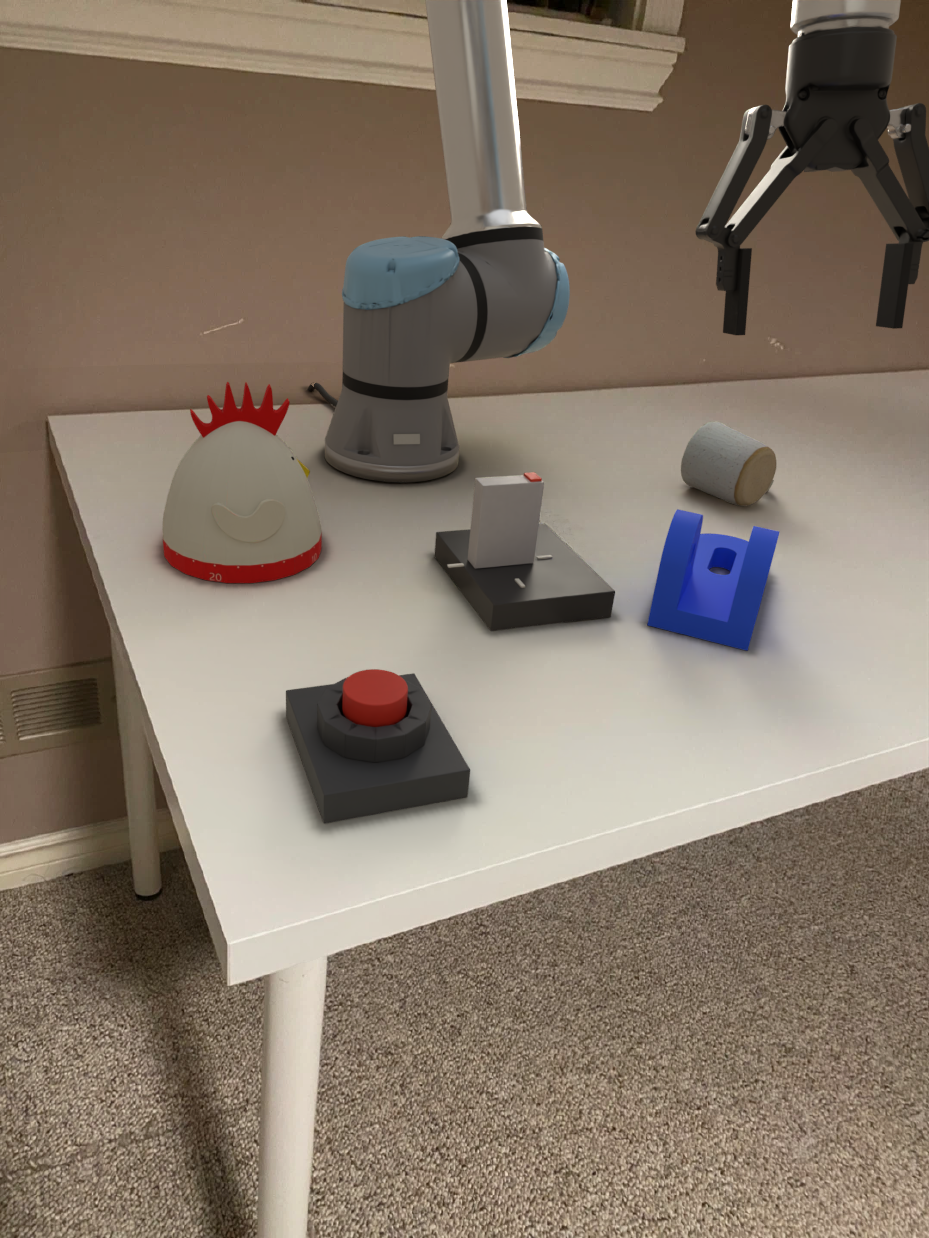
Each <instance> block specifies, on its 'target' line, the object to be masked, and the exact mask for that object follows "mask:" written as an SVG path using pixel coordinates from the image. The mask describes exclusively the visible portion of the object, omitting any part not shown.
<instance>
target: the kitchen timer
mask: <svg viewBox="0 0 929 1238" xmlns="http://www.w3.org/2000/svg"><path fill="white" fill-rule="evenodd" d="M248 384H249V383H248V382H247V381H245V382H244V386H243V387H244V388H243V396H242V402H241V406H240V407H237V405H236V402H235V397H234V394H233V390H232V387H231V384H230V382H229V381H227V382H226V383H225V389H224V400H223V407H222V409H221V408H220V407H219V406H218V405H217V403H216V402H215V401H214V399H213V398H212V397H211V395H209V394H207V395H206V401H207V405H208V408H209V412H210V413H211V421H210V422H204V421H202V419H200V417H199V416H198V415H197V413H196V412H195V411H194V410H193V409H192V408H190V409H189V412H190V417H191V419H192V422H193V424H194V426H195V427H196V430H197V431H198V433H199V434H200V435H199V436H198V437H197V438H196V440H195V441H194V442H193V443H192V444H191V445H190V447H189V448H188V450H187V451H186V452H185V453H184V455H183V457H182V458H181V460H180V461H179V463H178V464H177V467H176V469H175V471H174V474H173V476H172V479H171V482H170V486H169V489H168V493H167V497H166V501H165V505H164V510H163V516H162V527H161V530H162V546H163V556H164V558H165V560H166V561H167V562H168V563H169V565H170V566H171V567H173V568H174V569H176V570H177V571H179V572H181V573H183V574H185V575H187V576H189V577H190V576H191V577H194V578H197V579H200V580H204V581H210V582H217V583H225V584H254V583H265V582H271V581H276V580H281V579H284V578H286V577H291V576H294V575H297V574H299V573H301V572H302V571H305V570H306V569H308V568H311V566H312V565H313V564H314V563H315V562H316V561H317V560H318V559H320V556H321V552H322V548H323V547H322V543H323V541H322V539H323V538H322V537H323V536H322V535H323V534H322V533H323V532H322V524H321V523H322V522H321V517H320V513H319V510H318V506H317V503H316V500H315V497H314V494H313V491H312V488H311V485H310V482H309V480H308V478H309V477H310V473H311V471H310V469H309V468H308V467H307V466H306V465H304V463H302V462H301V461H300V460H299V459H298V458H297V456H296V455H295V453H294V452H293V451H292V449H291V447H290V446H288V444H287V443H286V442H285V441H284V440H283V439H282V438H281V437H280V436H278V435H277V433H278V432H279V429H280V427H281V425H282V423H283V422H284V419H285V418H286V415H287V413H288V410H289V407H290V404H291V403H290V400H289V398H286V399H285V400H284V401H283V402H282V404H281V405H280V407H279V408H277V409H274V397H273V389H272V386H271V384H270V383H268V384H267V386H266V389H265V390H264V391H265V392H264V395H263V398H262V400H261V404H260V406H259V407H258V408H257V407H255V405H254V401H253V397H252V393H251V390H250V387H249V385H248Z"/></svg>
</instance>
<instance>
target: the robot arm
mask: <svg viewBox="0 0 929 1238" xmlns="http://www.w3.org/2000/svg"><path fill="white" fill-rule="evenodd" d="M424 2H425V3H424V4H425V11H426V18H427V19H426V20H427V27H428V35H429V47H430V53H431V62H432V70H433V72H432V73H433V79H434V80H433V81H434V88H435V95H436V104H437V105H436V106H437V114H438V123H439V131H440V140H441V148H442V156H443V163H444V164H443V165H444V173H445V181H446V182H445V183H446V190H447V199H448V207H449V217H450V223H449V226H448V228H447V229H446V230H445V232H444V233H443V235H442V236H441V237H434V236H423V235H418V236H411V237H410V236H409V237H408V236H392V237H385V238H378V239H374V240H371V241H367V242H365V243H362V244H360V245H358V246H356V247H355V248H354V249H353V250H352V251H351V253H350V254H349V255H348V257H347V259H346V261H345V266H344V267H345V268H344V276H343V277H344V278H343V287H342V289H341V297H342V301H343V309H342V311H343V312H342V313H343V314H342V317H343V319H342V377H341V378H342V379H341V392H340V394H339V396H338V399H337V398H335V397H333V396H332V395H330V393H328V392H327V390H326V389H325V388H324V387H323V385H321V384H320V383H318V382H316V383H315V384H314V387H313V386H312V385H311V384H312V383H310V384H309V385H308V388H307V390H306V391H308V392H314V391H315V390H316V391H317V392H318V393H319V394H320V396H321V397H322V398H323V399H324V400H325V401H326V402H328V403H329V404H331V405H332V406H333V407H335V408H334V411H333V414H332V417H331V420H330V423H329V426H328V429H327V432H326V435H325V437H324V458H325V461H326V462H327V464H329V465H330V466H331V467H333V468H334V469H335V470H338V471H339V472H342V473H344V474H346V475H349V476H353V477H357V478H360V479H364V480H369V481H374V482H375V481H376V482H385V483H419V482H426V481H431V480H436V479H440V478H443V477H445V476H447V475H449V474H451V473H452V472H454V471H455V470H456V469H457V468H458V465H459V459H460V443H459V439H458V436H457V430H456V427H455V423H454V419H453V414H452V411H451V407H450V402H449V396H448V393H449V392H448V391H449V376H450V366H451V364H456V363H466V362H475V361H483V360H484V361H485V360H494V359H511V358H518V357H521V356H522V355H527V354H533V353H536V352H539V351H542V349H544V348H545V347H547V346H548V345H549V344H550V343H551V342H553V341H554V340H555V338H556V336H557V334H558V331H559V330H560V329H561V328H562V327H563V325H564V322H565V320H566V318H567V315H568V310H569V305H570V296H571V287H570V279H569V275H568V270H567V268H566V266H565V264H564V263H563V262H560V260H561V259H560V257H559V255H557V254H556V253H555V252H553V251H551V250H550V249H548V248H546V247H545V241H544V233H543V231H544V229H543V226H542V225H541V224H540V223H539V222H538V221H537V220H536V219H535V218H533V217H532V216H531V215H530V214H529V212H528V209H527V199H526V197H527V196H526V188H525V177H524V168H523V156H522V146H521V138H520V137H521V136H520V125H519V116H518V115H519V114H518V106H517V97H516V95H517V94H516V85H515V76H514V75H515V73H514V64H513V63H514V62H513V54H512V44H511V35H510V24H509V23H510V22H509V13H508V4H507V0H424ZM901 2H902V0H792V6H791V7H792V8H791V20H790V31H791V32H792V33H794V35H797V37H796V38H794V39H793V40H792V41H791V43H790V44H789V46H788V53H787V64H786V65H787V67H786V76H785V77H786V78H785V89H784V90H785V103H784V106H783V108H782V110H778V109H773V108H772V107H771V106H770V105H768V104H761V105H758V106H755V107H752V108H749V109H747V110H746V111H745V112H744V114H743V118H742V121H741V128H740V135H739V141H738V143H737V144H736V147H735V149H734V151H733V153H732V155H731V157H730V159H729V161H728V163H727V165H726V167H725V169H724V171H723V173H722V175H721V177H720V179H719V181H718V183H717V186H716V187H715V189H714V191H713V193H712V195H711V197H710V200H709V201H708V204H707V205H706V207H705V210H704V212H703V214H702V216H701V218H700V220H699V222H698V224H697V225H696V228H695V236H696V238H697V239H699V240H701V241H706V242H708V243H711V244H713V246H714V247H715V248H716V250H717V264H716V277H715V286H716V289H717V291H719V292H725V294H724V295H725V296H724V310H723V323H722V324H723V325H722V333H723V334H727V335H732V336H746V330H747V316H748V304H749V291H750V279H751V278H750V277H751V268H752V267H751V265H752V253H753V248H752V247H741V246H742V244H743V243H744V242H745V241H746V239H747V238H748V237H749V236H750V234H751V233H752V232H753V230H754V229H755V228H756V227H757V226H758V225H759V223H760V222H761V221H762V219H763V218H764V217H765V216H766V214H767V213H768V212H769V211H770V209H771V208H772V207H773V206H774V204H775V203H776V202H777V201H778V199H780V197H781V196H782V195H783V193H784V192H785V190H786V189H788V187H789V186H790V184H791V183H792V182H793V181H794V180H795V179H796V178H797V177H799V175H801V174H802V173H815V172H821V171H829V172H847V171H851V173H852V174H853V175H854V176H855V177H857V178H858V179H859V180H860V181H861V183H862V185H863V186H864V188H865V189H866V191H867V193H868V195H869V197H871V199H872V201H873V203H874V204H875V206H876V208H877V209H878V211H879V213H880V214H881V216H882V218H883V219H884V220H885V222H886V224H887V226H888V227H889V229H890V230H891V232H892V233H893V236H894V237H895V238H896V240H897V241H898V243H894V242H893V243H885V249H884V258H883V265H882V266H883V267H882V272H881V273H882V274H881V281H880V289H879V296H878V304H877V305H878V306H877V312H876V322H875V327H877V328H886V329H893V330H894V329H903V326H904V318H905V311H906V304H907V296H908V290H909V285H915V283H916V282H917V279H918V277H919V269H920V261H921V254H922V248H923V245H924V243H928V242H929V143H928V140H927V136H926V128H927V107H926V105H925V104H924V103H922V102H917V103H914V104H909V105H905V106H902V107H898V108H895V109H890V108H889V105H888V99H887V97H888V92H889V89H890V86H891V83H892V81H893V73H894V63H895V55H896V47H897V38H898V36H897V34H895V31H894V29H893V30H892V29H890V27H891V26H892V25H894V24H895V22H897V21H898V20H899V19H900V18H899V17H900V8H901ZM777 129H778V131H779V134H780V135H781V138H782V139H783V141H784V143H785V145H786V146H785V147H784V149H782V151H781V152H780V153H779V155H778V156H777V157H776V158H775V160H774V161H773V162H772V164H771V166H770V168H769V170H768V171H767V173H766V174H765V175H764V176H763V178H762V179H761V181H759V183H758V184H757V185H756V186H755V188H754V189H753V191H752V192H751V193H750V194H749V195H748V196H747V198H746V199H745V200H744V202H743V203H742V204H741V205H740V207H739V208H738V209H737V210H736V211H735V213H734V214H733V211H734V209H735V208H736V205H737V203H738V201H739V199H740V198H741V195H742V193H743V191H744V189H745V187H746V186H747V183H748V182H749V180H750V178H751V175H752V173H753V172H754V169H755V167H756V165H757V164H758V161H759V160H760V158H761V156H762V153H764V152H763V151H764V149H765V147H766V145H767V142H768V140H771V139H772V138H773V137H774V136H775V133H776V131H777ZM886 130H887V135H888V136H889V137H890V138H891V139H892V141H893V148H894V152H895V156H896V159H897V163H898V166H899V170H900V173H901V176H902V179H903V184H904V187H905V189H904V188H903V187H902V185H901V183H900V182H899V180H898V178H897V175H896V174H895V173H894V171H893V170H892V168H891V166H890V158H889V156H888V154H887V153H886V151H885V150H884V148H883V146H882V144H881V142H880V141H879V139H880V138H881V137H882V136H883V134H884V132H885V131H886ZM905 190H906V192H905ZM732 214H733V215H732Z"/></svg>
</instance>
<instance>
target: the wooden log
mask: <svg viewBox="0 0 929 1238" xmlns="http://www.w3.org/2000/svg"><path fill="white" fill-rule="evenodd" d="M680 464H681V465H680V475H681V476H680V477H681V478H682V481H683V482H684V483H685V484H686V485H688V486H689V487H691V488H694V489H696V490H698V491H701V492H703V493H705V494H707V495H709V496H713V497H715V498H718V499H720V500H722V501H725V502H726V503H729V504H732V505H735V506H740V507H748V506H750V505H753V504H755V503H756V502H758V501H759V500H760V499H761V498H762V497H763V496H764V495H765V494H766V493H768V492H769V491H770V489H771V488H772V485H774V482H775V481H774V478H775V475H776V471H777V457H776V452H774V450H773V449H772V448H771V447H769V446H768V445H767V444H765V443H764V442H762V441H760V440H758V439H756V438H753V437H751V436H749V435H747V434H745V433H743V432H741V431H739V430H737V429H735V428H733V427H731V426H728V425H726V424H724V423H722V422H721V421H716V420H713V421H709V422H706V423H704V424H703V425H701V426H700V427H699V428H698V429H697V430H696V431H695V432H694V434H693V435H692V436H691V438H690V439H689V441H688V442H687V444H686V446H685V449H684V451H683V455H682V458H681V463H680Z"/></svg>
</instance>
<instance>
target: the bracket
mask: <svg viewBox="0 0 929 1238" xmlns="http://www.w3.org/2000/svg"><path fill="white" fill-rule="evenodd" d="M703 521H704V514H702V513H697V512H692V511H688V510H683V509H678V508H677V509H676V510H675V512H674V514H673V516H672V518H671V522H670V524H669V527H668V531H667V534H666V538H665V541H664V544H663V547H662V553H661V557H660V562H659V565H658V571H657V575H656V580H655V585H654V589H653V595H652V600H651V604H650V610H649V614H648V618H647V623H646V625H647V626H648V627H653V628H657V629H661V630H665V631H668V632H672V633H676V634H680V635H683V636H688V637H691V638H696V639H699V640H704V641H708V642H712V643H715V644H720V645H723V646H727V647H731V648H735V649H738V650H743V651H749V648H750V644H751V640H752V636H753V632H754V630H755V626H756V622H757V618H758V614H759V611H760V607H761V603H762V600H763V595H764V592H765V588H766V585H767V581H768V577H769V574H770V570H771V567H772V562H773V559H774V556H775V551H776V549H777V548H776V547H777V544H778V539H779V536H780V533H781V532H780V531H779V530H775V529H771V528H770V529H769V528H765V527H762V526H761V527H760V526H757V525H752V526H753V527H752V528H751V532H750V536H749V539H748V540H746V539H743V538H740V537H736V536H733V535H728V534H721V533H711V532H710V533H701V532H702V528H703ZM713 568H721V569H725V570H727V571H728V572H729V573H728V574H719V573H716V572H713V571H711V569H713Z"/></svg>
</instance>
